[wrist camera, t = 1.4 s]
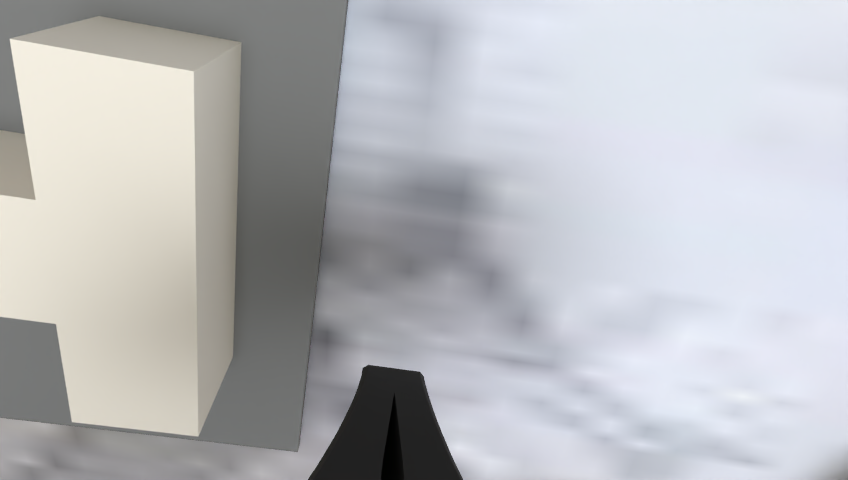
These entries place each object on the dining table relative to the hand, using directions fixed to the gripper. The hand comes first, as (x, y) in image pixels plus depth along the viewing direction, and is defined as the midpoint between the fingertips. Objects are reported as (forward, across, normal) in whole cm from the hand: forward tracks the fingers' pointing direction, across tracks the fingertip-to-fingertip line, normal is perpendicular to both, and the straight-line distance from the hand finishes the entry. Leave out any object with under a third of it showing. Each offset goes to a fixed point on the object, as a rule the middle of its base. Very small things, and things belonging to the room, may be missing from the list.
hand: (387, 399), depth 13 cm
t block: (+7, +12, 0) cm, 14 cm away
